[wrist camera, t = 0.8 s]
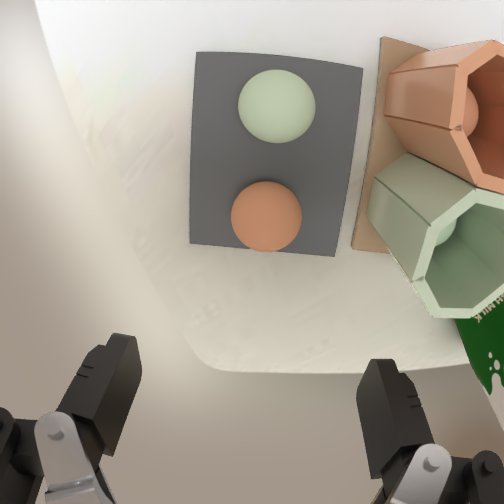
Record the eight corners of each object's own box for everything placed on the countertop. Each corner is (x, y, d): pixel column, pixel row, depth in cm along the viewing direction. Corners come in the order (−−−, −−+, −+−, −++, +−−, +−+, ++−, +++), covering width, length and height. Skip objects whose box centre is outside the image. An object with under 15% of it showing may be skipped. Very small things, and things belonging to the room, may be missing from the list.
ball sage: (313, 77, 18) (324, 71, 14) (306, 142, 20) (315, 152, 16) (244, 70, 19) (237, 62, 14) (239, 135, 21) (231, 144, 17)
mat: (360, 69, 18) (363, 68, 18) (333, 253, 25) (334, 256, 24) (198, 53, 19) (196, 51, 18) (191, 240, 25) (189, 243, 24)
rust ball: (459, 86, 17) (494, 88, 13) (452, 142, 19) (485, 154, 15) (407, 69, 17) (437, 64, 13) (400, 129, 19) (429, 138, 15)
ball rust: (302, 177, 22) (310, 197, 18) (294, 237, 24) (299, 268, 20) (236, 171, 22) (228, 189, 18) (233, 231, 24) (225, 261, 20)
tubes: (476, 70, 17) (561, 73, 8) (440, 255, 24) (496, 324, 16) (381, 37, 17) (447, 7, 9) (350, 246, 24) (386, 325, 16)
